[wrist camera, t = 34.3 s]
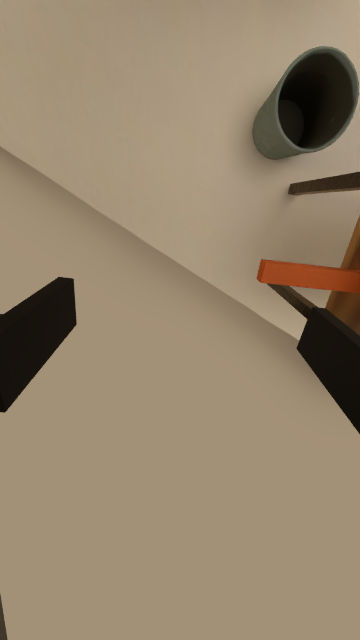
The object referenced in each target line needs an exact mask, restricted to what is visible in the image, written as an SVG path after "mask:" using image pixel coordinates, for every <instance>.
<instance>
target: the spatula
mask: <svg viewBox="0 0 360 640" xmlns="http://www.w3.org/2000/svg"><path fill="white" fill-rule="evenodd" d="M256 279H257V280H258V281H259V282H261V283H269V284H278V285H287V286H296V287H306V288H315V289H324V290H334V291H343V292H352V293H360V270H352V269H343V268H334V267H325V266H316V265H307V264H299V263H290V262H281V261H272V260H263V259H261V262H260V266H259V270H258V274H257V278H256Z"/></svg>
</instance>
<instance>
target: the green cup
mask: <svg viewBox="0 0 360 640" xmlns="http://www.w3.org/2000/svg"><path fill="white" fill-rule="evenodd" d="M358 95H359V82H358V77H357V72H356V70H355V68H354V65H353V64H352V62H351V61H350V60H349V58H348V57H347V56H346V54H344V53H343V52H341V51H340V50H338V49H336V48H333V47H327V46H321V47H316V48H313V49H310V50H308V51H306V52H304V53H303V54H301V55H300V56H299V57H298V58H297V59H295V60H294V61H293V62H292V64H291V65H290V66H289V68H288V69H287V70H286V72H285V73H284V75H283V76H282V78H281V80H280V81H279V82H278V84H277V85H276V87H275V89H274V90H273V91H272V93H271V94H270V96H269V97H268V99H267V100H266V101H265V103H264V104H263V106H262V107H261V108H260V110H259V112H258V113H257V116H256V118H255V121H254V125H253V139H254V143H255V146H256V148H257V149H258V151H259V152H260V153H261V154H262V155H263V156H265V157H267V158H269V159H282V158H286V157H290V156H295V155H299V154H304V153H311V152H316V151H319V150H322V149H324V148H326V147H328V146H329V145H331V144H332V143H333V142H335V141H336V140H337V139H338V138H339V137H340V136H341V135H342V133H343V132H344V131H345V129H346V128H347V126H348V125H349V123H350V121H351V119H352V117H353V115H354V112H355V109H356V106H357V102H358Z"/></svg>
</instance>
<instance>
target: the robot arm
mask: <svg viewBox="0 0 360 640" xmlns="http://www.w3.org/2000/svg"><path fill="white" fill-rule="evenodd" d="M75 326H76V310H75V294H74V279H72V278H63V277H58V278H57V279H55V280H54V281H52V282H51V283H49V284H48V285H46V286H45V287H43V288H42V289H40V290H39V291H37V292H36V293H34V294H33V295H31V296H30V297H28V298H27V299H25V300H24V301H22V302H21V303H19V304H18V305H17V306H15V307H14V308H12V309H11V310H9V311H8V312H6V313H5V314H0V412H6V411H7V409H8V408H9V407H10V406H11V405H12V403H13V402H14V401H15V400H16V398H17V397H18V396H19V395H20V394H21V392H22V391H23V390H24V389H25V387H26V386H27V385H28V384H29V382H30V381H31V380H32V379H33V377H34V376H35V375H36V374H37V373H38V371H39V370H40V369H41V368H42V366H43V365H44V364H45V363H46V361H47V360H48V359H49V358H50V356H51V355H52V354H53V353H54V351H55V350H56V349H57V348H58V347H59V345H60V344H61V343H62V342H63V340H64V339H65V338H66V337H67V336H68V334H69V333H70V332H71V331H72V329H73V328H74V327H75ZM297 350H298V351H299V353H300V354H301V355H302V357H303V358H304V359H305V361H306V362H307V363H308V365H309V366H310V367H311V369H312V370H313V371H314V373H315V374H316V375H317V377H318V378H319V380H320V381H321V382H322V384H323V385H324V386H325V388H326V389H327V390H328V392H329V393H330V395H331V396H332V397H333V398H334V400H335V401H336V403H337V404H338V405H339V407H340V408H341V409H342V411H343V412H344V413H345V415H346V416H347V418H348V419H349V420H350V421H351V423H352V424H353V426H354V427H355V428H356V430H357V431H358V432H359V434H360V335H359V334H357V333H356V332H355V331H353V330H352V329H351V328H350V327H348V326H347V325H346V324H345V323H343V322H342V321H341V320H340V319H338V318H337V317H336V316H335V315H333V314H332V313H331V312H330V311H328V310H327V309H326V308H318V307H312V309H311V312H310V315H309V317H308V320H307V322H306V325H305V328H304V330H303V333H302V335H301V338H300V341H299V343H298V346H297ZM0 640H7V634H6V628H5V621H4V615H3V608H2V602H1V596H0Z"/></svg>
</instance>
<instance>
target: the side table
mask: <svg viewBox="0 0 360 640" xmlns="http://www.w3.org/2000/svg"><path fill="white" fill-rule="evenodd" d="M354 190H360V172H356V173H350V174H344V175H339V176H333V177H327V178H322V179H316V180H310V181H305V182H299V183H293V184H290V188H289V192H288V194H293V195H302V194H315V193H328V192H341V191H354ZM340 268H343V269H352V270H360V216H359V219H358V221H357V224H356V227H355V229H354V232H353V235H352V238H351V240H350V243H349V246H348V248H347V251H346V254H345V256H344V259H343V262H342V264H341V267H340ZM267 284H268V285H269V286H270V287H271V288H272V289H273V290H275V291H276V292H277V293H278V294H279V295H280V296H281V297H283V298H284V299H285V300H286V301H287V302H288V303H289V304H291V305H292V306H293V307H294V308H295V309H296V310H298V311H299V312H300V313H301V314H302V315H303V316H304V317H306V318H307V319H308V317H309V315H310V312H311V309H312V307H317V306H316V305H314V304H313V303H312V302H310V301H309V300H307V299H306V298H305V297H303V296H302V295H301V294H299V293H298V292H296V291H295V290H294V289H292V288H291V287H289V286H287V285H278V284H269V283H267ZM325 308H326V309H327V310H328V311H330V312H331V313H332V314H333V315H335V316H336V317H337V318H338V319H340V320H341V321H342V322H343V323H345V324H346V325H347V326H348V327H350V328H351V329H352V330H353V331H355V332H356V333H357V334H359V335H360V293H352V292H343V291H334V290H332V291H331V294H330V296H329V299H328V302H327V305H326V307H325Z"/></svg>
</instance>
